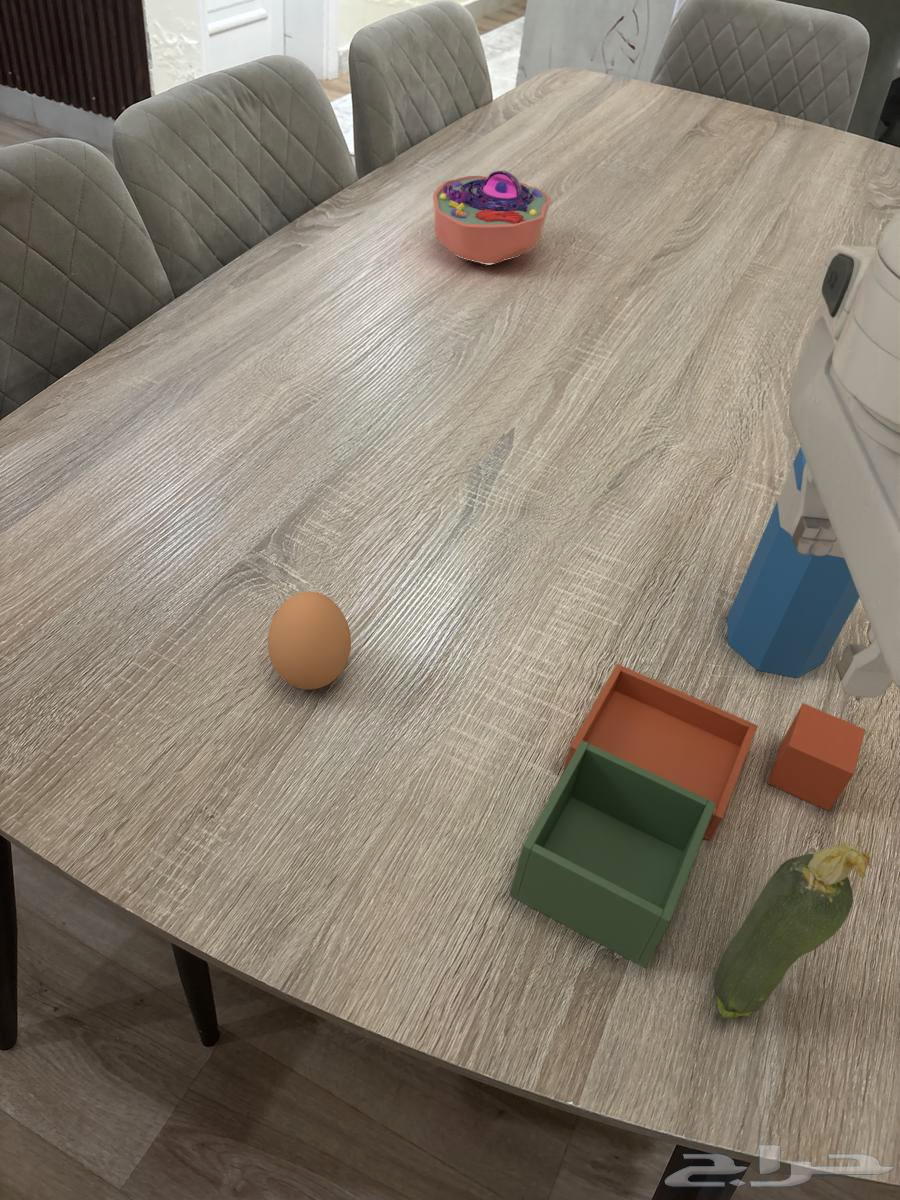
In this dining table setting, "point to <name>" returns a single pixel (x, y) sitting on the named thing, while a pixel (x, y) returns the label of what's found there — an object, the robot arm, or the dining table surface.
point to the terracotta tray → (669, 736)
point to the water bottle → (790, 595)
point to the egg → (309, 640)
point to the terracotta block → (817, 757)
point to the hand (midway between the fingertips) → (830, 610)
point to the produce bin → (612, 852)
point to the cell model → (489, 216)
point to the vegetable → (786, 925)
